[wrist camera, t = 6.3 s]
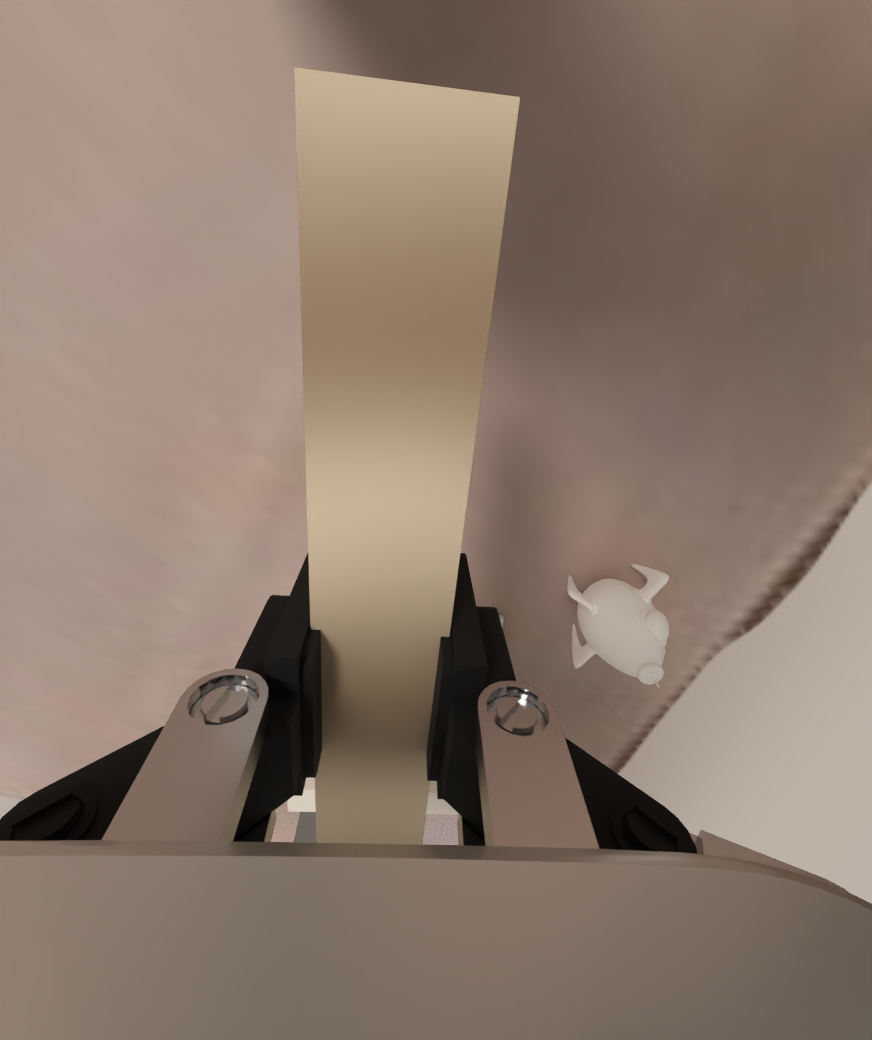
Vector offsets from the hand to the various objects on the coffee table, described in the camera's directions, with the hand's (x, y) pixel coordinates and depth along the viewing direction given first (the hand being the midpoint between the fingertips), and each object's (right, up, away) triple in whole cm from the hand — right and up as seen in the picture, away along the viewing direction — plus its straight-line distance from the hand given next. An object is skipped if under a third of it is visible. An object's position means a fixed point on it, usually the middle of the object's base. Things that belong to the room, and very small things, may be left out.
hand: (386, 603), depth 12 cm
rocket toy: (+11, -2, +18) cm, 22 cm away
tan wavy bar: (0, 0, +1) cm, 1 cm away
